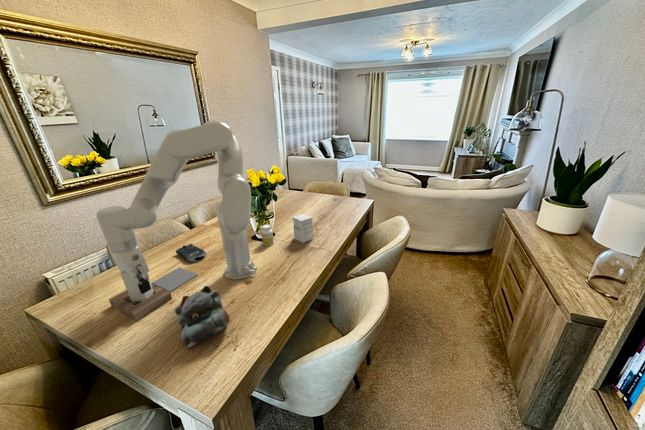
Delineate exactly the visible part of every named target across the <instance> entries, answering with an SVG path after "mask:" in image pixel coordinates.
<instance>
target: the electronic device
mask: <svg viewBox="0 0 645 430" xmlns="http://www.w3.org/2000/svg"><path fill="white" fill-rule="evenodd" d="M175 254H177V255H178V256H180V257H181V258H183V259H184V261H185V262H188V263H196V262H197V263H198V262H200V261H201V259H200V258H202V257H203V258H205V257H206V255H207V252H206V251H205V250H204V249H202V248H200V247H197V246H196V245H194V244H193V243H188V244H187V245H182V246H181V247H179V248H176V250H175ZM198 259H200V260H198Z"/></svg>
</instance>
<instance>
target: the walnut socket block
mask: <svg viewBox="0 0 645 430" xmlns="http://www.w3.org/2000/svg"><path fill="white" fill-rule="evenodd" d="M151 285H152V288H153V291H154V294H153V295H152V296H150V297H148V298H147V299H145V300H143V301H139V302H138V303H136V304H135V305H134V304H133V302H134V301H131V299H130V296H129V294H128V291H127V289H125V290H124V291H121V292H120V293H118V294H115V295H114V296H112V297H110V298H109V299H108V301H109V304H110V306H111V307H112V308H114V309H116V310H117V311H119V312H121V313H123V314H124V315H126V316H127V317H129V318H131V319H133V320H134V321H135V322H139V321H141V320H142V319H144V318H145V317H147V316H149V315H150V314H151V313H153V312H154V311H156V310H157V309H159V308H160V307H162V306H164V305H165V304H166V303H168V302H170V301H172V300H173V297H172V294H171V293H172V292H169V291H167V290H164V289H162V288H160V287H158V286H156V285H154V284H152V283H151Z"/></svg>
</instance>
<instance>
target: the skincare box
mask: <svg viewBox="0 0 645 430" xmlns="http://www.w3.org/2000/svg"><path fill="white" fill-rule="evenodd" d="M139 274H140V273H139V272H138V273H137V275H139ZM120 277H121V279H122V282H123V283H124V286H125V290H127V291H128V294H129V296H130V299H131V301H133V302H142V301H143V300H145V299H147V298H148V297H150V296H152V295H153V294H154V291H153V288H152V285H151V284H152V281H151V280H150V276H149V277H148V279H149V283H150V286H151V290H149V291H147V292H146V293H144V294H141V292H140V290H139V287H138V284H139V283H138V282H137V280H136V279H135V278H133V277H130V276H128V275H127V274H126V273H125V272H120ZM141 278H142V275H141V276H139V279H140V280H141Z"/></svg>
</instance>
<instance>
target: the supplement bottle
mask: <svg viewBox="0 0 645 430" xmlns="http://www.w3.org/2000/svg"><path fill="white" fill-rule="evenodd" d="M261 229H262V230H261V238H262V245H263V246H265V247H267V246H271V245H273V244H274V234H273V233H274V232H273V230H272V227H271V224H264V225H262V227H261Z"/></svg>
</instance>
